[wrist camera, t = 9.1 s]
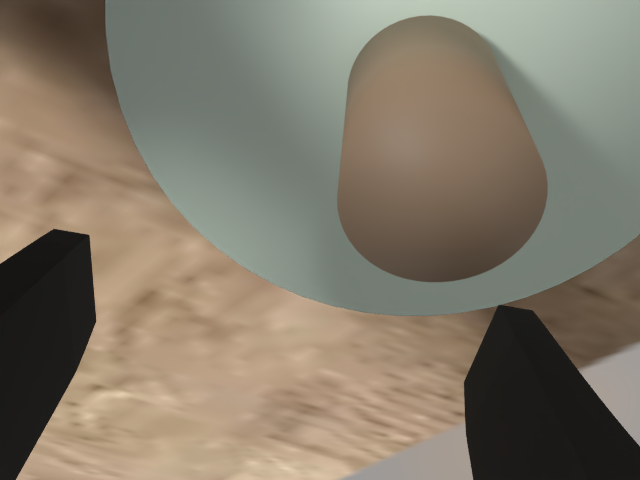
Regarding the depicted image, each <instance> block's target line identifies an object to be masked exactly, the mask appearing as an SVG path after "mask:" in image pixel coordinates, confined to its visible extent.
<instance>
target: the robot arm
mask: <svg viewBox="0 0 640 480" xmlns="http://www.w3.org/2000/svg"><path fill="white" fill-rule="evenodd" d="M95 323H96V312H95V300H94V287H93V275H92V262H91V250H90V238H89V235H86V234H80V233H75V232H69V231H63V230H57V229H53V230H52V231H50V232H48V233H47V234H45V235H43V236H42V237H40V238H39V239H37V240H36V241H34V242H33V243H31V244H30V245H28V246H27V247H25V248H24V249H22V250H20V251H19V252H17V253H16V254H14V255H13V256H11V257H10V258H8V259H7V260H5V261H4V262H2V263H1V264H0V480H16V478H17V476H18V475H19V473H20V471H21V469H22V467H23V466H24V464H25V462H26V460H27V459H28V457H29V455H30V453H31V452H32V450H33V448H34V446H35V444H36V443H37V441H38V439H39V437H40V436H41V434H42V432H43V430H44V428H45V427H46V425H47V423H48V421H49V420H50V418H51V416H52V414H53V413H54V411H55V409H56V407H57V405H58V403H59V402H60V400H61V398H62V396H63V394H64V393H65V391H66V389H67V387H68V385H69V384H70V382H71V380H72V378H73V376H74V374H75V373H76V370H77V368H78V366H79V363H80V361H81V358H82V356H83V354H84V351H85V349H86V346H87V344H88V341H89V338H90V336H91V333H92V331H93V328H94V325H95ZM464 396H465V422H466V437H467V444H468V449H469V455H470V461H471V468H472V474H473V480H640V446H639V445H638V444H637V443H636V442H635V440H634V439H633V438H632V437H631V436H630V435H629V434H628V432H627V431H626V430H625V429H624V428H623V427H622V425H621V424H620V423H619V422H618V420H617V419H616V418H615V417H614V416H613V414H612V413H611V412H610V411H609V409H608V408H607V407H606V406H605V404H604V403H603V402H602V401H601V399H600V398H599V397H598V396H597V394H596V393H595V392H594V390H593V389H592V388H591V387H590V385H589V384H588V383H587V381H586V380H585V379H584V377H583V376H582V375H581V374H580V372H579V371H578V370H577V368H576V367H575V366H574V364H573V363H572V362H571V360H570V359H569V358H568V356H567V355H566V354H565V352H564V351H563V350H562V348H561V347H560V346H559V344H558V343H557V342H556V340H555V339H554V338H553V336H552V335H551V334H550V332H549V331H548V330H547V328H546V327H545V326H544V324H543V323H542V322H541V320H540V319H539V318H538V317H537V315H536V314H535V313H534V312H533V311H532V310H526V309H520V308H514V307H508V306H503V305H498V308H497V310H496V312H495V314H494V316H493V319H492V321H491V323H490V325H489V328H488V330H487V332H486V334H485V337H484V339H483V341H482V343H481V345H480V348H479V350H478V352H477V354H476V357H475V359H474V361H473V363H472V366H471V368H470V370H469V372H468V374H467V377H466V379H465V381H464Z"/></svg>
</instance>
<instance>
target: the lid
mask: <svg viewBox="0 0 640 480" xmlns="http://www.w3.org/2000/svg"><path fill="white" fill-rule="evenodd" d="M105 28H106V39H107V46H108V53H109V61H110V68H111V74H112V78H113V81H114V85H115V89H116V93H117V96H118V100H119V104H120V108H121V111H122V113H123V116H124V118H125V121H126V123H127V126H128V128H129V131H130V133H131V136H132V138H133V141H134V143H135V145H136V147H137V149H138V151H139V152H140V154H141V156H142V158H143V160H144V161H145V163H146V165H147V167H148V169H149V171H150V172H151V174H152V176H153V177H154V179H155V180H156V181H157V183H158V184H159V186H160V187H161V188H162V190H163V191H164V193H165V194H166V195H167V197H168V198H169V200H170V201H171V202H172V204H173V205H174V206H175V207H176V208H177V209H178V210H179V212H180V213H181V214H182V215H183V216H184V217H185V218H186V219H187V220H188V221H189V223H190V224H191V225H192V226H193V227H194V228H195V229H196V230H197V231H198V232H199V233H201V234H202V235H203V236H204V237H205V238H206V239H207V240H208V241H210V242H211V243H212V244H213V245H214V246H215V247H216V248H218V249H219V250H220V251H221V252H223V253H224V254H226V255H227V256H228V257H230V258H231V259H233V260H234V261H236V262H237V263H238V264H240V265H241V266H243V267H244V268H245V269H247V270H249V271H251V272H252V273H254V274H256V275H258V276H260V277H262V278H263V279H265V280H267V281H269V282H271V283H272V284H274V285H277V286H279V287H281V288H284V289H286V290H288V291H291V292H293V293H295V294H298V295H300V296H302V297H305V298H309V299H312V300H315V301H318V302H321V303H325V304H328V305H331V306H335V307H340V308H345V309H350V310H355V311H360V312H365V313H374V314H384V315H394V316H433V315H444V314H455V313H463V312H469V311H474V310H479V309H485V308H490V307H495V306H498V305H502V304H505V303H509V302H512V301H516V300H519V299H523V298H526V297H529V296H531V295H534V294H536V293H539V292H541V291H544V290H546V289H549V288H552V287H554V286H557V285H559V284H561V283H563V282H565V281H567V280H569V279H571V278H573V277H575V276H577V275H579V274H581V273H583V272H585V271H587V270H589V269H591V268H592V267H594V266H595V265H597V264H598V263H600V262H602V261H603V260H605V259H606V258H608V257H609V256H611V255H613V254H614V253H616V252H617V251H619V250H620V249H622V248H623V247H624V246H626V245H627V244H628V243H630V242H631V241H632V240H633V239H635V238H636V237H637V236H638V235H640V0H105Z"/></svg>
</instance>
